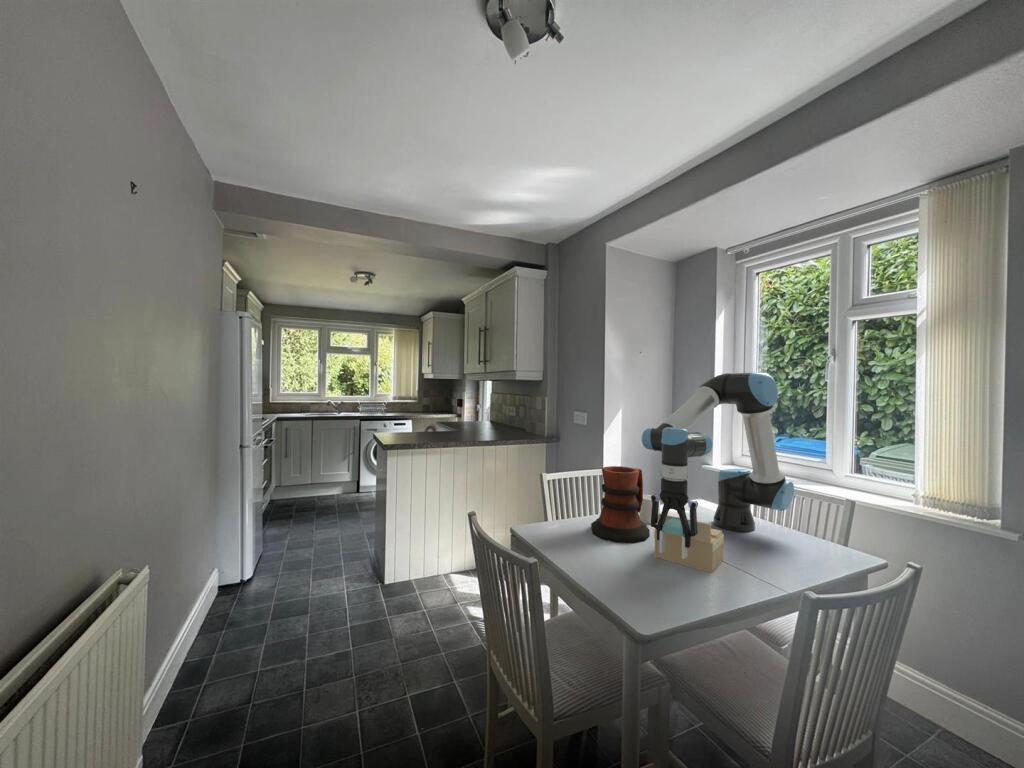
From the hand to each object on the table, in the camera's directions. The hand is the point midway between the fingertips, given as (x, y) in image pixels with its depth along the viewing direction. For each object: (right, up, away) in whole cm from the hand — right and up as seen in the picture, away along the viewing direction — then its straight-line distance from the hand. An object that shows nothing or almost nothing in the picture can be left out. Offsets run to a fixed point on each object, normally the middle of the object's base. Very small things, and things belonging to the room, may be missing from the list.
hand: (673, 554), depth 129 cm
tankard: (-6, -6, +36) cm, 37 cm away
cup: (+8, -6, +51) cm, 52 cm away
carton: (+9, -6, +11) cm, 15 cm away
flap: (+5, +6, +6) cm, 10 cm away
